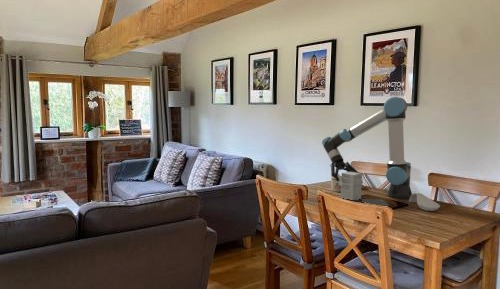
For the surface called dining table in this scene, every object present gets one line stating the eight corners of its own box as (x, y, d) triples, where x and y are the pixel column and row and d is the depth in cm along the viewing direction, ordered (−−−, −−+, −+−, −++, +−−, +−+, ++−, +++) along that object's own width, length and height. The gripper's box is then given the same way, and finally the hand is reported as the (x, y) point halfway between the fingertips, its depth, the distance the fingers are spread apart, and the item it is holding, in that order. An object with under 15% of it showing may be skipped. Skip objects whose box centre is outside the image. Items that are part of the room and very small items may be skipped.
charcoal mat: (382, 201, 236) (382, 199, 236) (388, 207, 223) (389, 205, 223) (361, 200, 236) (361, 199, 236) (366, 206, 224) (366, 204, 223)
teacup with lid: (334, 192, 259) (335, 175, 258) (328, 189, 268) (329, 173, 267) (350, 191, 262) (351, 174, 261) (343, 188, 271) (344, 172, 270)
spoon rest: (443, 212, 213) (444, 200, 212) (424, 213, 212) (424, 200, 211) (420, 202, 236) (421, 191, 236) (402, 202, 235) (403, 191, 235)
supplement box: (349, 196, 248) (350, 171, 246) (361, 199, 241) (362, 173, 239) (340, 198, 242) (341, 172, 240) (352, 201, 235) (353, 174, 233)
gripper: (347, 160, 261) (362, 185, 249) (318, 162, 249) (331, 189, 238) (353, 153, 255) (368, 179, 244) (323, 155, 244) (337, 182, 232)
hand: (350, 184), depth 241 cm, fingers open, 13 cm apart
